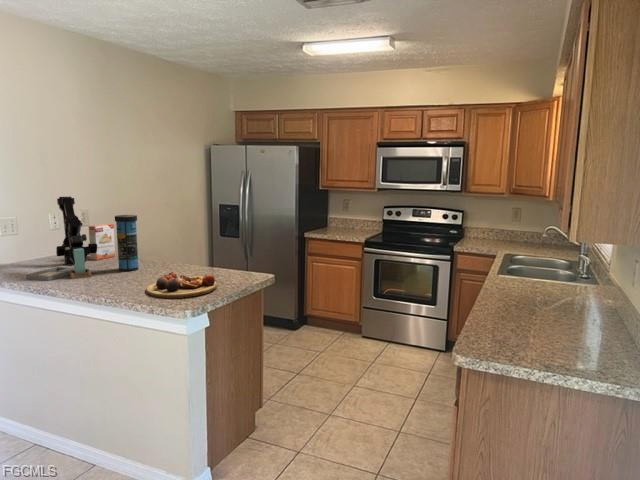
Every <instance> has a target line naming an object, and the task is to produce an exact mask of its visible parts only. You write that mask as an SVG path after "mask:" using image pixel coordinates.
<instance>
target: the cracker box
mask: <svg viewBox="0 0 640 480" xmlns="http://www.w3.org/2000/svg"><path fill="white" fill-rule="evenodd" d="M114 227H115V225H114V223H102V224H93V225H88V236H89V237H88V238H89V239H88V240H89V244H92V243H96V244H97V252H96V253H90V254H89V258H90V260H93V261H100V260H105V259H110V258H114V257H116V250H115V247H116V246H115V228H114Z"/></svg>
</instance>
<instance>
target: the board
mask: <svg viewBox="0 0 640 480" xmlns="http://www.w3.org/2000/svg"><path fill="white" fill-rule="evenodd" d="M72 270H74V267H67V266H54V267H50V268H46V269H43V270H39V271H35V272H32V273H27V274H25V279H26V280H35V281H36V280H38V281H54V280H56V279H60V278H62V277H63V278H64V277H66V276H69V271H72Z"/></svg>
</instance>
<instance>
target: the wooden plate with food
mask: <svg viewBox="0 0 640 480" xmlns="http://www.w3.org/2000/svg"><path fill="white" fill-rule="evenodd" d="M217 288H218V283H217V282H216V278H215V277H214V275H212V274H205V275H204V276H202V275H195V276H186V275H184V274H182V275H181V274H179V276H177V274H176V272H174V271H171V272H168V274H164V275H163V276H160V277H159V278H158V279H157V280H156V282H154V283H152V284H150V285H148V286H146V289H145V292H146V294H147V295H149V296H151V297H154V298H159V299H160V298H162V299H182V298H184V297H185V298H193V297H197V296H202V295H205V294H209V293H212V292H213V291H215V290H216V289H217ZM211 291H212V292H211ZM192 296H193V297H192Z"/></svg>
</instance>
